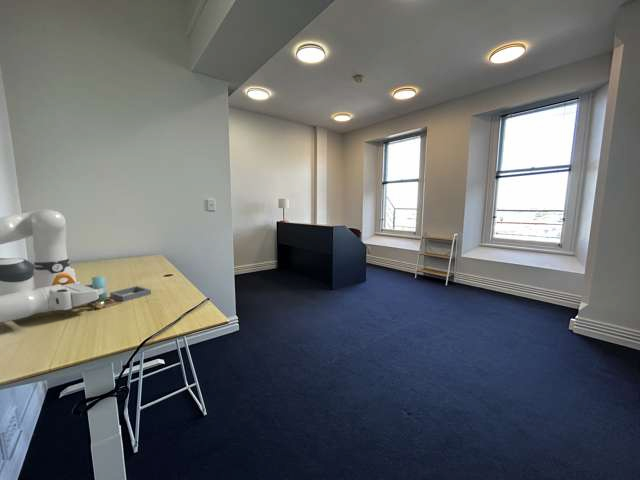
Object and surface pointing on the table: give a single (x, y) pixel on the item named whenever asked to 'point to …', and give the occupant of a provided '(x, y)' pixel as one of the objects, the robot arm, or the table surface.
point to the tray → (120, 294)
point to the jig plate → (107, 304)
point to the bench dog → (99, 305)
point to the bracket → (63, 275)
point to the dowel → (98, 284)
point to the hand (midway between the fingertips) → (101, 287)
